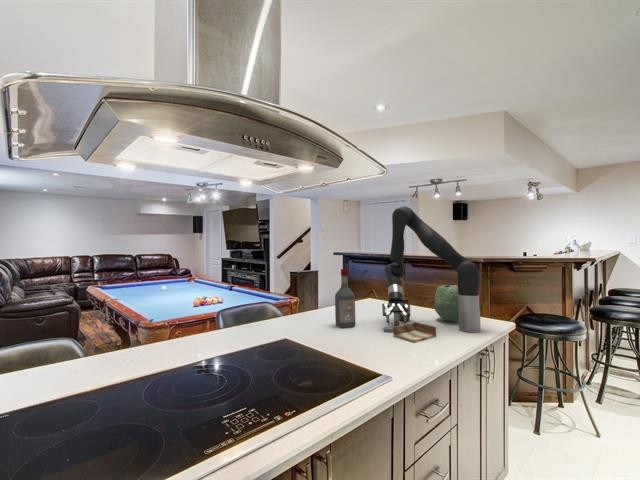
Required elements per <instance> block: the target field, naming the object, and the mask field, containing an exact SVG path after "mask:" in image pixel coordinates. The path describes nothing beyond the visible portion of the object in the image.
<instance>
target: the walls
mask: <svg viewBox="0 0 640 480" xmlns="http://www.w3.org/2000/svg"><path fill="white" fill-rule="evenodd" d="M392 327H393V333H392V334H394V335H397V334H402V333H406V332H410V331H414V330H417V331H421V332H425V333H429V334H432V335H436V336H437V326H434V325H430V324H426V323H421V322H417V321H414V322H407V323H406V324H404V323H403V324H401V325H400V324H399V326H395V327H394V326H392Z"/></svg>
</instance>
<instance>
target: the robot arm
mask: <svg viewBox="0 0 640 480" xmlns="http://www.w3.org/2000/svg"><path fill="white" fill-rule="evenodd" d="M391 214H392V215H391V219H392V221H391V224H392V230H391V231H392V235H391V236H392V238H391V247H390V252H389V253H390V255H389V259H390V261H391V262H394V263H397V264H392V263H388V264H386V265H385V268H384V274H385V277H386V280H387V284H388V285H387V286H388V289H387V296H388V297H387V302H388V303H387V304H385V303H382V304H381V306H382V307H381V308H382V309H381V310H382V316H383V317H385V318H386V323H387V324H390V316H391V315H392V313H393V314H394V312H399V313H401V314H402V315H403V316H404V322H403V325H404V324H408V322H407V317H410V318H411V304H410V303H409V304H408V305H404V303H403V298H404V291H403V284H402V278H403V277H404V275H405V267H404V255H405V239H404V236H405V229H406V226H407V227H408V228H409V229H411V230H412V232H414V233H415V235H416V236H417V238H418V239H419V241H420V242H421V244H422V245H423V246H424V247H425V248H426V249H427V250H428V251H430V252H431V253H432V254H434V255H435V256H436V257H438V258H439V259H441V260H443V261H444V262H446V263H447V264H448V265H449V266H450V267H451V268H452V269H453V270H454V271H455V272H456V274H457V285H458V305H459V320H458V328H459V330H460V331H461V332H466V333H478V332H480V331H481V326H482V325H481V324H482V323H481V310H480V284H479V283H480V281H479V279H480V278H479V275H480V274H479V269H478V267H477V265H476V264H475V263H474V262H472V261H471V260H468V259H467V258H466V257H464V256H463V255H462V254H460V253H459V251H457V250H456V249H455V248H454V247H453V246H452V245H451V243H450V242H448V241H447V240H446V239H445V238H444V237H443V236H442V235H440V234H439V233H438V232H437V231H436V230H435V229H434V228H433V227H431V226H430V225H429V224H427V223H426V222H424V220H422V218H420V217H419V216H418V215H417V213H415V212H414V210H412V209H411V208H410V207H409V206H406V205H405V206H400V207H397V208H395V209H394V210H393V211H392V213H391ZM404 307H405V308H406V309H408V313H406V312H405V311H404ZM386 309H388V310H387V311H386Z"/></svg>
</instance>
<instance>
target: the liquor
mask: <svg viewBox="0 0 640 480" xmlns="http://www.w3.org/2000/svg"><path fill="white" fill-rule="evenodd" d="M348 275H349V269H348V268H342V269H341V268H340V276H341V277H340V278H341V279H340V281H341V282H340V283H341V284H340V288H339V289H338V290H337V292H335V295H334V308H335V310H334V311H335V312H334V313H335V315H334V317H335V318H334V319H335V326H336V327H338V328H340V329H349V328H354V327H355V326H356V296H355V293H354V292H353V291H352V290H351V288H350V287H349V281H348V280H349V276H348Z"/></svg>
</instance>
